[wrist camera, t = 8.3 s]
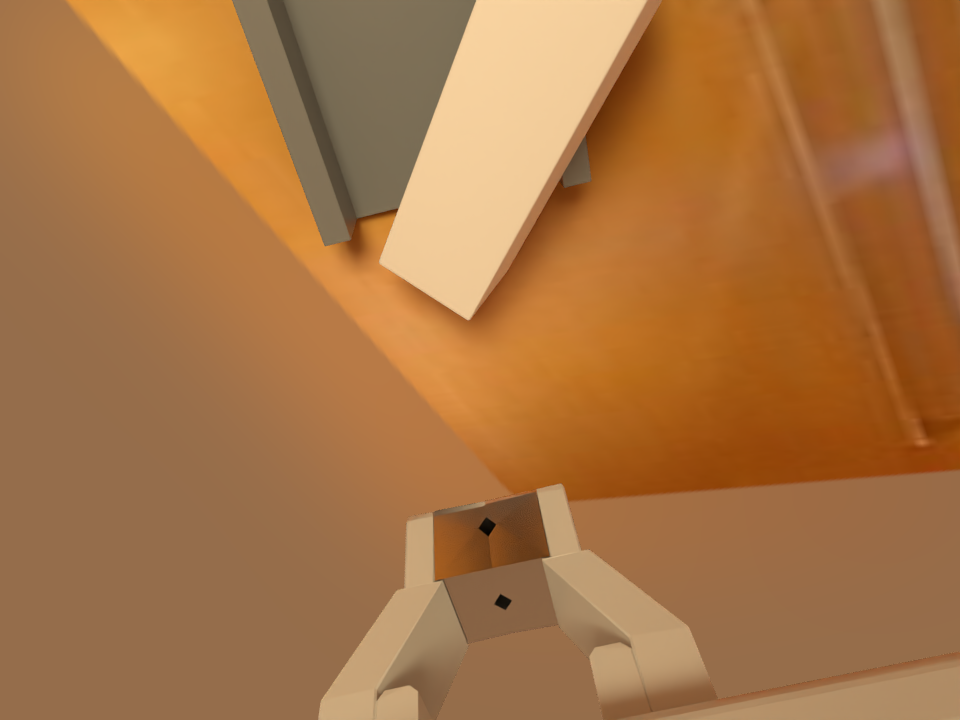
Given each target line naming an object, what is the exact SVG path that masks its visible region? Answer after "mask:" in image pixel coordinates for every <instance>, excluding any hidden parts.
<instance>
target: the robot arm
mask: <svg viewBox="0 0 960 720" xmlns="http://www.w3.org/2000/svg"><path fill="white" fill-rule="evenodd" d="M536 491H537V493H536ZM537 496H538V497H537ZM539 505H540V506H539ZM555 625H559V628H560V629H561V630H562V631H563V632H564V633H565V634H566V635H567V636H568V637H569V638H570V640H571V641H572V642H573V643H574V644H575V645H576V646H577V647H578V648H579V649H580V650H581V652H582V653H583V654H584V655H585V656H586V657H587V658H588V659H589V660H590V662H591V667H592V672H593V676H594V681H595V686H596V690H597V695H598V700H599V705H600V709H601V714H602V719H603V720H960V651H959V652H954V653H949V654H944V655H939V656H934V657H929V658H923V659H918V660H913V661H908V662H903V663H898V664H893V665H889V666H884V667H878V668H873V669H868V670H863V671H858V672H853V673H848V674H843V675H838V676H833V677H828V678H823V679H818V680H813V681H807V682H802V683H798V684H792V685H787V686H782V687H777V688H772V689H767V690H762V691H757V692H752V693H747V694H742V695H737V696H732V697H727V698H722V699H718V698H717V695H716V693H715V690H714V688H713V685H712V683H711V680H710V678H709V676H708V673H707V671H706V668H705V666H704V663H703V661H702V659H701V656H700V653H699V651H698V649H697V646H696V644H695V641H694V639H693V636H692V634H691V631H690V629H689V627H688V626H687V625H686V624H685V623H683V622H682V621H681V620H679V619H678V618H677V617H676V616H674V615H673V614H672V613H671V612H669V611H668V610H667V609H665V608H664V607H663V606H662V605H660V604H659V603H658V602H656V601H655V600H654V599H653V598H651V597H650V596H649V595H647V594H646V593H645V592H644V591H642V590H641V589H640V588H639V587H637V586H636V585H635V584H633V583H632V582H631V581H630V580H628V579H627V578H626V577H624V576H623V575H622V574H621V573H619V572H618V571H617V570H615V569H614V568H613V567H612V566H610V565H609V564H608V563H607V562H605V561H604V560H603V559H601V558H600V557H599V556H598V555H596V554H595V553H593V551H591V550H590V549H588V550H581V547H580V543H579V540H578V536H577V532H576V529H575V525H574V521H573V518H572V514H571V510H570V507H569V503H568V499H567V496H566V492H565V488H564V486H563V485H562V484H556V485H552V486H548V487H543V488H539V489H535V490H531V491H526V492H522V493H518V494H513V495H509V496H504V497H500V498H496V499H491V500H487V501H484V502H479V503H474V504H469V505H464V506H459V507H453V508H448V509H443V510H438V511H435V512H430V513H425V514H420V515H415V516H410V517H409V518H408V521H407V523H406V554H405V583H404V589H400V590H397V591H396V592H395V593H394V595H393V597H392V598H391V600H390V601H389V602H388V604H387V605H386V607H385V608H384V610H383V611H382V612H381V614H380V616H379V617H378V618H377V620H376V621H375V623H374V624H373V626H372V627H371V629H370V630H369V632H368V633H367V634H366V636H365V637H364V639H363V640H362V642H361V643H360V645H359V646H358V647H357V649H356V651H355V652H354V653H353V655H352V656H351V658H350V659H349V661H348V662H347V664H346V665H345V667H344V668H343V670H342V671H341V672H340V674H339V675H338V677H337V678H336V680H335V681H334V683H333V684H332V686H331V687H330V688H329V690H328V691H327V693H326V694H325V696H324V697H323V699H322V700H321V705H320V711H319V719H318V720H436V718H437V716H438V714H439V712H440V709H441V707H442V705H443V702H444V701H445V698H446V696H447V694H448V691H449V689H450V687H451V685H452V683H453V680H454V678H455V676H456V673H457V671H458V669H459V667H460V664H461V662H462V660H463V658H464V655H465V653H466V651H467V649H468V643H472V642H476V641H481V640H485V639H489V638H493V637H498V636H502V635H506V634H510V633H515V632H521V631H526V630H532V629H538V628H543V627H549V626H555Z"/></svg>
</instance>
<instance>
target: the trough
mask: <svg viewBox="0 0 960 720" xmlns="http://www.w3.org/2000/svg"><path fill="white" fill-rule="evenodd" d="M232 1H233V4H234V7H235V9H236V12H237V15H238V17H239V20H240V22H241V25H242V28H243V30H244V33H245V36H246V38H247V41H248V44H249V46H250V49H251V52H252V54H253V57H254V60H255V62H256V65H257V68H258V70H259V73H260V76H261V78H262V81H263V83H264V86H265V89H266V91H267V94H268V97H269V99H270V102H271V105H272V107H273V110H274V113H275V115H276V118H277V121H278V123H279V126H280V129H281V131H282V134H283V137H284V139H285V142H286V145H287V147H288V150H289V152H290V155H291V158H292V160H293V163H294V166H295V168H296V171H297V174H298V176H299V179H300V182H301V184H302V187H303V190H304V192H305V195H306V198H307V200H308V203H309V206H310V208H311V211H312V214H313V216H314V219H315V221H316V224H317V227H318V229H319V232H320V235H321V237H322V240H323V243H324V245H325V246H328V245H332V244H336V243H340V242H345V241H349V240H351V238H352V235H353V231H354V228H355V224H356V220H357V218H361V217H365V216H369V215H373V214H377V213H381V212H385V211H389V210H393V209H397V208H399V206H400V204H401V201H402V198H403V196H404V193H405V190H406V188H407V185H408V182H409V179H410V177H411V174H412V171H413V169H414V166H415V163H416V161H417V158H418V155H419V153H420V150H421V147H422V145H423V142H424V139H425V136H426V134H427V131H428V128H429V126H430V123H431V120H432V118H433V115H434V112H435V110H436V107H437V104H438V102H439V99H440V96H441V94H442V91H443V88H444V85H445V83H446V80H447V77H448V75H449V72H450V69H451V67H452V64H453V61H454V59H455V56H456V53H457V51H458V48H459V45H460V42H461V40H462V37H463V34H464V32H465V29H466V26H467V24H468V21H469V18H470V16H471V13H472V10H473V8H474V5H475V2H476V0H232ZM559 181H560V182H561V184H562V185H563V187H564V188H565V187H570V186H574V185H578V184H582V183H586V182H590V181H591V173H590V166H589V158H588V150H587V142H586V135H585V136H584V138H583V140H582V142H581V143H580V145H579V147H578V149H577V150H576V152H575V154H574V156H573V157H572V159H571V161H570V163H569V164H568V166H567V168H566V170H565V171H564V173H563V175H562V177H561V178H560V180H559Z"/></svg>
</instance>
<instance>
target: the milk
mask: <svg viewBox="0 0 960 720" xmlns="http://www.w3.org/2000/svg"><path fill="white" fill-rule="evenodd" d="M661 2H662V0H476V2H475V5H474V8H473V10H472V13H471V16H470V18H469V21H468V24H467V26H466V29H465V32H464V34H463V37H462V40H461V42H460V45H459V48H458V51H457V53H456V56H455V59H454V61H453V64H452V67H451V69H450V72H449V75H448V77H447V80H446V83H445V85H444V88H443V91H442V94H441V96H440V99H439V102H438V104H437V107H436V110H435V112H434V115H433V118H432V120H431V123H430V126H429V128H428V131H427V134H426V136H425V139H424V142H423V145H422V147H421V150H420V153H419V155H418V158H417V161H416V163H415V166H414V169H413V171H412V174H411V177H410V179H409V182H408V185H407V188H406V190H405V193H404V196H403V198H402V201H401V204H400V206H399V209H398V212H397V214H396V217H395V220H394V222H393V225H392V228H391V230H390V233H389V236H388V239H387V241H386V244H385V247H384V249H383V252H382V255H381V257H380V260H379V263H380V264H381V265H382V266H384V267H385V268H387V269H388V270H390V271H392V272H393V273H395V274H396V275H398V276H399V277H401V278H402V279H404V280H406V281H407V282H409V283H410V284H412V285H413V286H415V287H416V288H418V289H420V290H421V291H423V292H424V293H426V294H427V295H429V296H430V297H432V298H434V299H435V300H437V301H438V302H440V303H441V304H443V305H444V306H446V307H448V308H449V309H451V310H452V311H454V312H455V313H457V314H459V315H460V316H462V317H463V318H465V319H466V320H470V319H471V318H472V317H473V315H474V314H475V313H476V311H477V310H478V309H479V308H480V306H481V305H482V304H483V302H484V301H485V300H486V298H487V297H488V296H489V294H490V293H491V292H492V291H493V289H494V288H495V287H496V285H497V284H498V283H499V281H500V280H501V279H502V277H503V276H504V275H505V274H506V272H507V271H508V269H509V267H510V266H511V264H512V262H513V260H514V259H515V257H516V255H517V253H518V252H519V250H520V248H521V246H522V245H523V243H524V241H525V240H526V238H527V236H528V234H529V233H530V231H531V229H532V227H533V226H534V224H535V222H536V220H537V219H538V217H539V215H540V213H541V212H542V210H543V208H544V206H545V205H546V203H547V201H548V199H549V198H550V196H551V194H552V192H553V191H554V189H555V187H556V185H557V184H558V182H559V180H560V178H561V177H562V175H563V173H564V171H565V170H566V168H567V166H568V164H569V163H570V161H571V159H572V157H573V156H574V154H575V152H576V150H577V149H578V147H579V145H580V143H581V142H582V140H583V138H584V136H585V135H586V133H587V131H588V129H589V128H590V126H591V124H592V122H593V121H594V119H595V117H596V115H597V114H598V112H599V110H600V108H601V107H602V105H603V103H604V101H605V100H606V98H607V96H608V94H609V93H610V91H611V89H612V87H613V86H614V84H615V82H616V80H617V79H618V77H619V75H620V73H621V72H622V70H623V68H624V66H625V65H626V63H627V61H628V59H629V58H630V56H631V54H632V52H633V51H634V49H635V47H636V45H637V44H638V42H639V40H640V38H641V37H642V35H643V33H644V31H645V30H646V28H647V26H648V24H649V23H650V21H651V19H652V17H653V16H654V14H655V12H656V10H657V9H658V7H659V5H660V3H661Z"/></svg>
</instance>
